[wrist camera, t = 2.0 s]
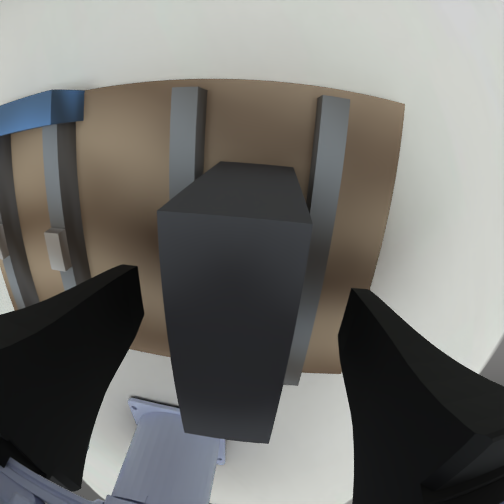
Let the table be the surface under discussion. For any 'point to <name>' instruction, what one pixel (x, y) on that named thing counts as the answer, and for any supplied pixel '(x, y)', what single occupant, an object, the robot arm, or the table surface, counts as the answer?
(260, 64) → the table surface
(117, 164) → the board
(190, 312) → the dark grey tall block
